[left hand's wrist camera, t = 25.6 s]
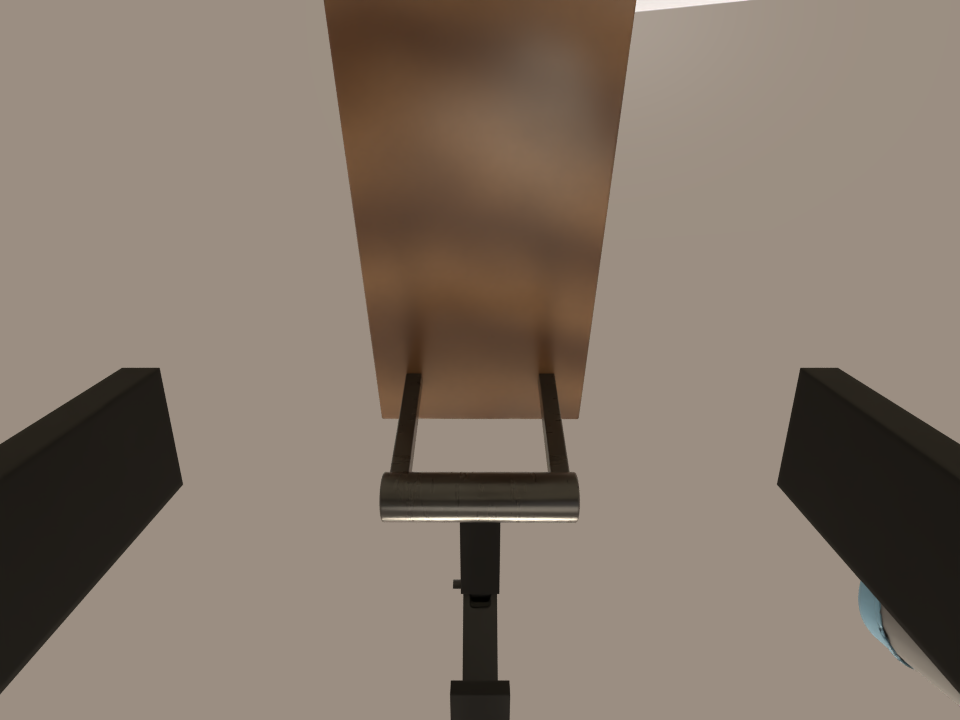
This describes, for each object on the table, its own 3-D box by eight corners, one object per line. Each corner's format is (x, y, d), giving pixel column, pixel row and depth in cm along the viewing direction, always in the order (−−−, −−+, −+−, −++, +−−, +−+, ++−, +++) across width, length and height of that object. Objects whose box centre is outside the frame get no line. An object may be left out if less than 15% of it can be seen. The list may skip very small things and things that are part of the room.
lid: (576, 407, 29) (604, 559, 22) (384, 406, 29) (354, 558, 22) (638, -63, 17) (737, -45, 11) (321, -63, 17) (220, -44, 11)
